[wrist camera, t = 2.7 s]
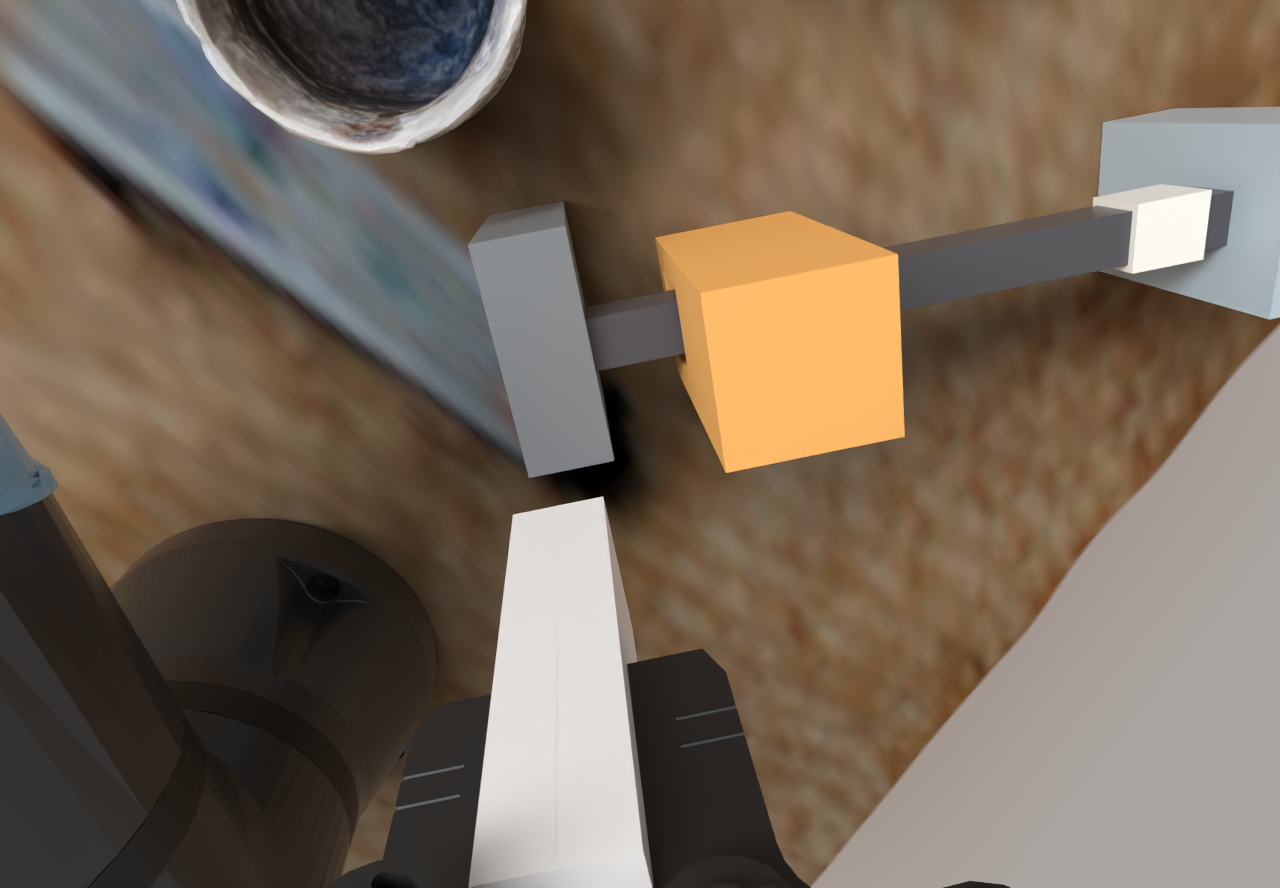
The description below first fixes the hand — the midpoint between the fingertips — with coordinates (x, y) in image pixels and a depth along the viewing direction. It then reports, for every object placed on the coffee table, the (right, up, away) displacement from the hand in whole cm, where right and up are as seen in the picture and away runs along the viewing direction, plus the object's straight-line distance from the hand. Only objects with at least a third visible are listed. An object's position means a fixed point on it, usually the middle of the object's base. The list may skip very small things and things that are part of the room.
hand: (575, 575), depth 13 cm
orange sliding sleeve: (+4, +8, +16) cm, 18 cm away
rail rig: (+10, +10, +19) cm, 24 cm away
